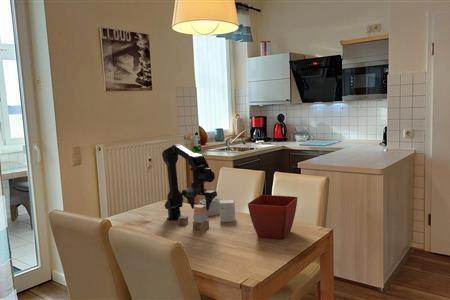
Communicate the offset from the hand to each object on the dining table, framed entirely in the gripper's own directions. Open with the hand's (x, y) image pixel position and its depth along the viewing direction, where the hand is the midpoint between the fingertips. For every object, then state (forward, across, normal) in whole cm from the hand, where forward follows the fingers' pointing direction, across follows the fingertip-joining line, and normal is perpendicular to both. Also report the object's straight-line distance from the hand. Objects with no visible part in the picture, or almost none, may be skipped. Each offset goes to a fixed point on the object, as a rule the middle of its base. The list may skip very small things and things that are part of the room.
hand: (200, 209), depth 203 cm
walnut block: (+10, -13, +2) cm, 17 cm away
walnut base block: (+10, 0, 0) cm, 10 cm away
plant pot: (+10, +38, +7) cm, 40 cm away
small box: (+10, +6, +17) cm, 21 cm away
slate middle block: (+6, 0, 0) cm, 6 cm away
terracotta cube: (+2, 0, 0) cm, 2 cm away
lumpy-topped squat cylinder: (+10, -10, +26) cm, 30 cm away
